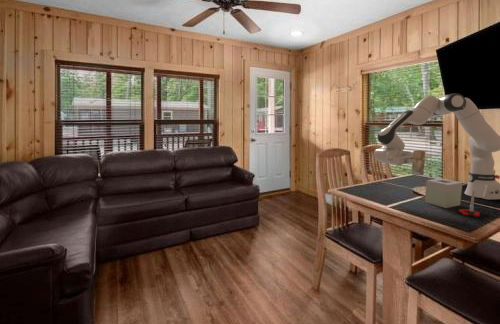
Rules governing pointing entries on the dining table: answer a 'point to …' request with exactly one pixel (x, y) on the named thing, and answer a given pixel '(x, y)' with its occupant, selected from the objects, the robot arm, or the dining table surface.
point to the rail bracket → (418, 162)
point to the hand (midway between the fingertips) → (420, 161)
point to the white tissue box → (443, 192)
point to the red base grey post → (470, 211)
